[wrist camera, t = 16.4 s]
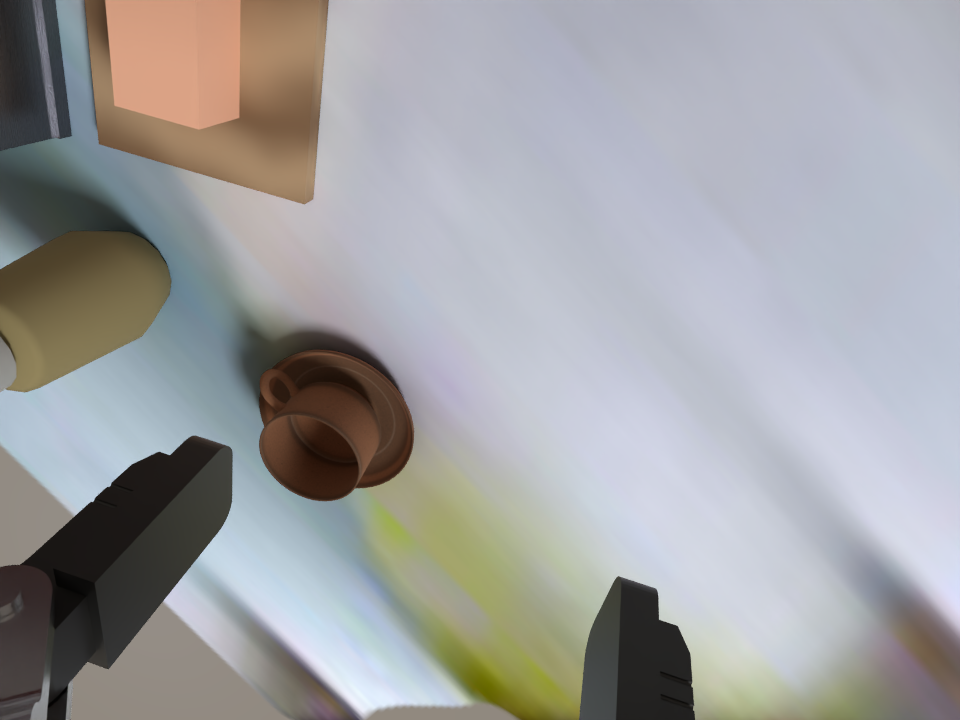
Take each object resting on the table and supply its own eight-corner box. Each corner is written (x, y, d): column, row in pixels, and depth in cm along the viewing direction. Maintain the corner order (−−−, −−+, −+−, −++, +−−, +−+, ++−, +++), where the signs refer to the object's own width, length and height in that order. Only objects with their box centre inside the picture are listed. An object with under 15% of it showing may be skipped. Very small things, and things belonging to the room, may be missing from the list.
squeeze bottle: (74, 277, 48) (-194, 408, 33) (100, 190, 44) (-194, 294, 28) (168, 339, 49) (-50, 495, 33) (202, 260, 45) (-30, 397, 29)
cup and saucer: (249, 414, 51) (204, 462, 46) (310, 307, 45) (265, 348, 39) (375, 496, 52) (345, 552, 47) (450, 404, 46) (425, 456, 41)
